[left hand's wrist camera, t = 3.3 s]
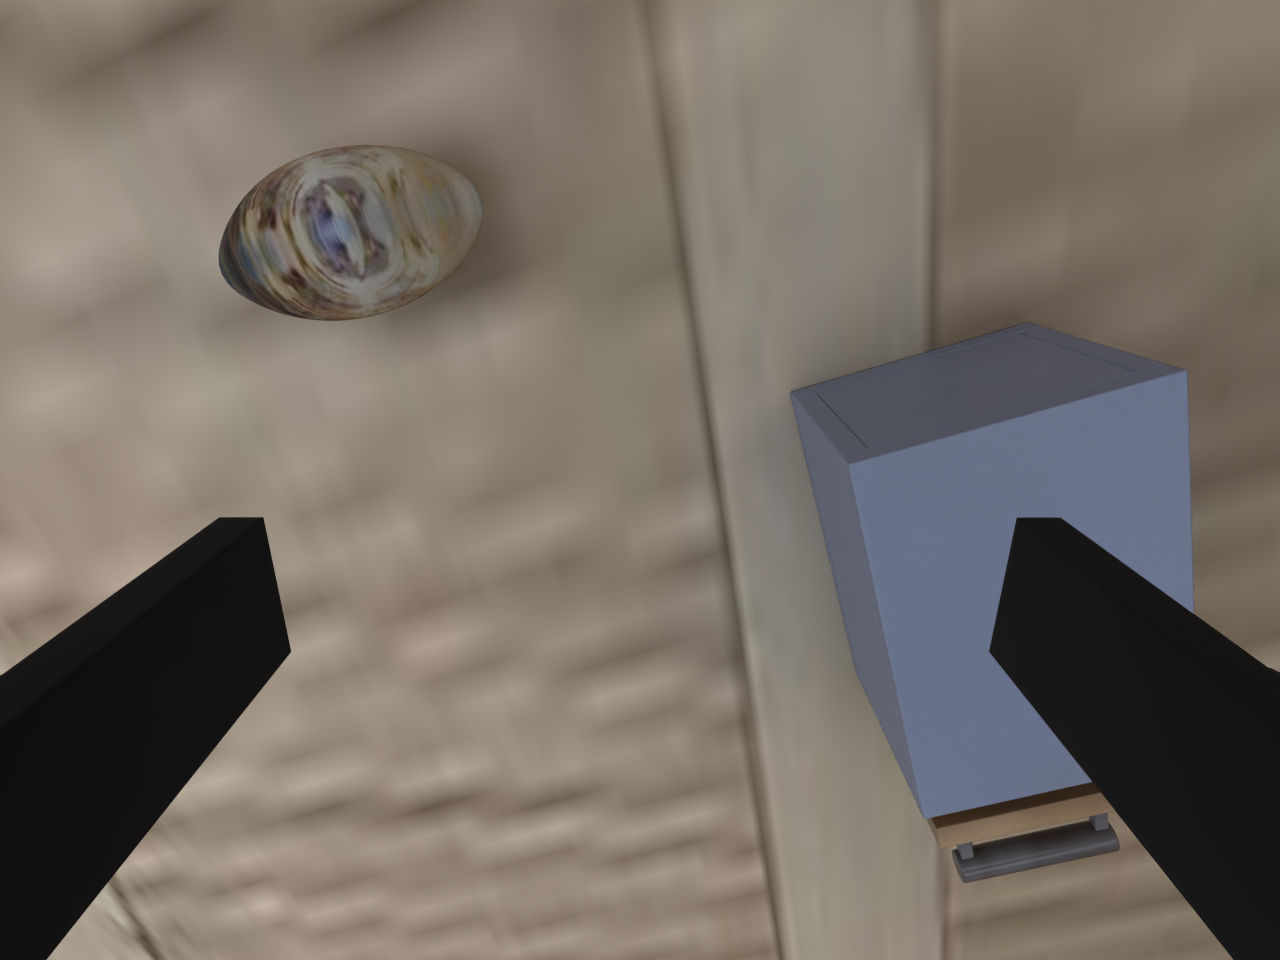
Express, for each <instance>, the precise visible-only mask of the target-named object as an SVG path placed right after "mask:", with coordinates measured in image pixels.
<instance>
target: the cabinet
mask: <svg viewBox="0 0 1280 960" xmlns="http://www.w3.org/2000/svg"><path fill="white" fill-rule="evenodd" d="M790 394H791V399H792V403H793V407H794V411H795V416H796V420H797V424H798V428H799V433H800V437H801V441H802V445H803V450H804V454H805V458H806V462H807V466H808V471H809V475H810V479H811V483H812V488H813V492H814V496H815V500H816V505H817V509H818V513H819V517H820V522H821V526H822V530H823V534H824V539H825V543H826V547H827V551H828V556H829V560H830V564H831V568H832V572H833V577H834V581H835V585H836V589H837V594H838V598H839V602H840V606H841V611H842V615H843V619H844V623H845V628H846V632H847V636H848V640H849V645H850V649H851V653H852V657H853V661H854V666H855V670H856V673H857V676H858V678H859V680H860V682H861V684H862V686H863V688H864V690H865V693H866V695H867V697H868V699H869V701H870V703H871V706H872V708H873V710H874V712H875V714H876V716H877V719H878V721H879V723H880V725H881V727H882V729H883V732H884V734H885V736H886V738H887V740H888V742H889V745H890V747H891V749H892V751H893V753H894V755H895V758H896V760H897V762H898V764H899V766H900V768H901V770H902V773H903V775H904V777H905V779H906V781H907V783H908V786H909V788H910V790H911V792H912V794H913V796H914V799H915V800H916V803H917V805H918V807H919V810H920V812H921V814H922V816H923V818H924V819H928V818H932V817H937V816H941V815H946V814H950V813H955V812H959V811H964V810H968V809H973V808H977V807H982V806H986V805H991V804H995V803H1000V802H1004V801H1009V800H1013V799H1018V798H1022V797H1027V796H1031V795H1036V794H1040V793H1045V792H1049V791H1054V790H1058V789H1063V788H1067V787H1072V786H1076V785H1081V784H1085V783H1090V782H1092V781H1091V780H1090V778H1089V777H1088V776H1087V775H1086V773H1085V772H1084V771H1083V770H1082V768H1081V767H1080V766H1079V764H1078V763H1077V762H1076V761H1075V759H1074V758H1073V757H1072V756H1071V754H1070V753H1069V752H1068V751H1067V749H1066V748H1065V747H1064V746H1063V744H1062V743H1061V742H1060V741H1059V739H1058V738H1057V737H1056V736H1055V734H1054V733H1053V732H1052V731H1051V729H1050V728H1049V727H1048V725H1047V724H1046V723H1045V722H1044V720H1043V719H1042V718H1041V717H1040V715H1039V714H1038V713H1037V712H1036V710H1035V709H1034V708H1033V707H1032V705H1031V704H1030V703H1029V702H1028V700H1027V699H1026V698H1025V697H1024V695H1023V694H1022V693H1021V692H1020V690H1019V689H1018V688H1017V686H1016V685H1015V684H1014V683H1013V681H1012V680H1011V679H1010V678H1009V676H1008V675H1007V674H1006V673H1005V671H1004V670H1003V669H1002V668H1001V666H1000V665H999V664H998V663H997V661H996V660H995V659H994V658H993V656H992V655H991V654H990V653H989V649H990V644H991V639H992V634H993V629H994V625H995V620H996V615H997V610H998V605H999V600H1000V596H1001V591H1002V586H1003V581H1004V576H1005V571H1006V567H1007V562H1008V557H1009V552H1010V547H1011V542H1012V538H1013V533H1014V528H1015V523H1016V518H1017V517H1061V518H1062V519H1063V520H1065V521H1066V522H1068V523H1069V524H1070V525H1072V526H1073V527H1074V528H1076V529H1077V530H1079V531H1080V532H1081V533H1083V534H1084V535H1086V536H1087V537H1088V538H1090V539H1091V540H1092V541H1094V542H1095V543H1097V544H1098V545H1099V546H1101V547H1102V548H1103V549H1105V550H1106V551H1108V552H1109V553H1110V554H1112V555H1113V556H1115V557H1116V558H1117V559H1119V560H1120V561H1121V562H1123V563H1124V564H1126V565H1127V566H1128V567H1130V568H1131V569H1132V570H1134V571H1135V572H1137V573H1138V574H1139V575H1141V576H1142V577H1144V578H1145V579H1146V580H1148V581H1149V582H1150V583H1152V584H1153V585H1155V586H1156V587H1157V588H1159V589H1160V590H1161V591H1163V592H1164V593H1166V594H1167V595H1168V596H1170V597H1171V598H1173V599H1174V600H1175V601H1177V602H1178V603H1179V604H1181V605H1182V606H1184V607H1185V608H1186V609H1188V610H1189V611H1190V612H1192V613H1193V614H1194V590H1193V554H1192V517H1191V480H1190V443H1189V407H1188V372H1187V370H1185V369H1182V368H1178V367H1175V366H1172V365H1168V364H1167V365H1166V364H1165V363H1161V362H1158V361H1155V360H1151V359H1148V358H1145V357H1141V356H1138V355H1135V354H1131V353H1128V352H1125V351H1121V350H1118V349H1115V348H1111V347H1108V346H1105V345H1101V344H1098V343H1094V342H1091V341H1088V340H1084V339H1081V338H1078V337H1074V336H1071V335H1068V334H1064V333H1061V332H1058V331H1054V330H1051V329H1048V328H1044V327H1041V326H1039V325H1035V324H1032V323H1024V324H1021V325H1018V326H1014V327H1011V328H1007V329H1004V330H1001V331H997V332H994V333H990V334H987V335H984V336H980V337H977V338H973V339H970V340H966V341H963V342H960V343H956V344H953V345H949V346H946V347H943V348H939V349H936V350H932V351H929V352H926V353H922V354H919V355H915V356H912V357H908V358H905V359H902V360H898V361H895V362H891V363H888V364H885V365H881V366H878V367H874V368H871V369H868V370H864V371H861V372H857V373H854V374H850V375H847V376H844V377H840V378H837V379H833V380H830V381H827V382H823V383H820V384H816V385H813V386H810V387H806V388H803V389H799V390H796V391H792V392H790Z"/></svg>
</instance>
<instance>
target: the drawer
mask: <svg viewBox="0 0 1280 960" xmlns="http://www.w3.org/2000/svg"><path fill="white" fill-rule="evenodd" d="M1112 811H1115V810H1114V809H1113V807H1112V806H1111V805H1110V803H1109V802H1108V801H1107V800H1106V798H1105V797H1104V796H1103V795H1102V793H1101V792H1100V791H1099V790H1098V788H1097V787H1096V786H1095V785H1094V783H1093V782H1090V783H1085V784H1081V785H1076V786H1072V787H1067V788H1063V789H1058V790H1054V791H1049V792H1045V793H1040V794H1036V795H1031V796H1027V797H1022V798H1018V799H1013V800H1009V801H1004V802H1000V803H995V804H991V805H986V806H982V807H977V808H973V809H968V810H964V811H959V812H955V813H950V814H946V815H941V816H937V817H932V818H928V819H927V821H928V823H929V825H930V828H931V830H932V832H933V834H934V836H935V838H936V841H937V843H938V845H939V847H940V848H941V849H942V848H946V847H951V846H955V845H956V846H957V849H954V850H952V857H953V861H954V864H955V867H956V869H957V872H958V874H959V876H960V878H961V880H962V881H963V882H964V883H968V882H973V881H978V880H982V879H987V878H992V877H997V876H1001V875H1006V874H1011V873H1016V872H1020V871H1025V870H1030V869H1035V868H1039V867H1044V866H1049V865H1054V864H1058V863H1063V862H1068V861H1073V860H1077V859H1082V858H1087V857H1091V856H1096V855H1101V854H1106V853H1110V852H1115V851H1118V850H1119V849H1120V845H1119V841H1118V838H1117V835H1116V833H1115V831H1114V829H1113V828H1112V826H1111V825H1110V823H1109V822H1108V814H1107V812H1112ZM1084 817H1089V820H1088V821H1083V822H1078V823H1074V824H1069V825H1064V826H1060V827H1055V828H1051V829H1046V830H1041V831H1037V832H1032V833H1027V834H1023V835H1018V836H1014V837H1009V838H1004V839H1000V840H995V841H990V842H986V843H981V844H977V845H972V842H974V841H978V840H983V839H988V838H992V837H997V836H1001V835H1006V834H1011V833H1015V832H1020V831H1025V830H1029V829H1034V828H1038V827H1043V826H1048V825H1052V824H1057V823H1061V822H1066V821H1071V820H1075V819H1080V818H1084Z"/></svg>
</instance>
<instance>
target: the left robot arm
mask: <svg viewBox="0 0 1280 960" xmlns="http://www.w3.org/2000/svg"><path fill="white" fill-rule="evenodd" d="M290 653H291V649H290V644H289V639H288V634H287V629H286V625H285V620H284V615H283V610H282V605H281V600H280V596H279V591H278V586H277V581H276V576H275V571H274V567H273V562H272V557H271V552H270V547H269V542H268V538H267V533H266V528H265V523H264V518H263V517H219V518H218V519H217V520H215V521H214V522H212V523H211V524H210V525H208V526H207V527H206V528H204V529H203V530H201V531H200V532H199V533H197V534H196V535H194V536H193V537H192V538H190V539H189V540H188V541H186V542H185V543H183V544H182V545H181V546H179V547H178V548H177V549H175V550H174V551H172V552H171V553H170V554H168V555H167V556H165V557H164V558H163V559H161V560H160V561H159V562H157V563H156V564H154V565H153V566H152V567H150V568H149V569H148V570H146V571H145V572H143V573H142V574H141V575H139V576H138V577H136V578H135V579H134V580H132V581H131V582H130V583H128V584H127V585H125V586H124V587H123V588H121V589H120V590H119V591H117V592H116V593H114V594H113V595H112V596H110V597H109V598H107V599H106V600H105V601H103V602H102V603H101V604H99V605H98V606H96V607H95V608H94V609H92V610H91V611H90V612H88V613H87V614H85V615H84V616H83V617H81V618H80V619H78V620H77V621H76V622H74V623H73V624H72V625H70V626H69V627H67V628H66V629H65V630H63V631H62V632H61V633H59V634H58V635H56V636H55V637H54V638H52V639H51V640H49V641H48V642H47V643H45V644H44V645H43V646H41V647H40V648H38V649H37V650H36V651H34V652H33V653H32V654H30V655H29V656H27V657H26V658H25V659H23V660H22V661H20V662H19V663H18V664H16V665H15V666H14V667H12V668H11V669H9V670H8V671H7V672H5V673H4V674H2V675H0V960H46V959H47V958H48V957H49V956H50V954H51V953H52V952H53V951H54V949H55V948H56V947H57V946H58V944H59V943H60V942H61V941H62V939H63V938H64V937H65V936H66V934H67V933H68V932H69V931H70V929H71V928H72V927H73V926H74V924H75V923H76V922H77V920H78V919H79V918H80V917H81V915H82V914H83V913H84V912H85V910H86V909H87V908H88V907H89V905H90V904H91V903H92V902H93V900H94V899H95V898H96V897H97V895H98V894H99V893H100V892H101V890H102V889H103V888H104V887H105V885H106V884H107V883H108V881H109V880H110V879H111V878H112V876H113V875H114V874H115V873H116V871H117V870H118V869H119V868H120V866H121V865H122V864H123V863H124V861H125V860H126V859H127V858H128V856H129V855H130V854H131V853H132V851H133V850H134V849H135V848H136V846H137V845H138V844H139V842H140V841H141V840H142V839H143V837H144V836H145V835H146V834H147V832H148V831H149V830H150V829H151V827H152V826H153V825H154V824H155V822H156V821H157V820H158V819H159V817H160V816H161V815H162V814H163V812H164V811H165V810H166V809H167V807H168V806H169V805H170V803H171V802H172V801H173V800H174V798H175V797H176V796H177V795H178V793H179V792H180V791H181V790H182V788H183V787H184V786H185V785H186V783H187V782H188V781H189V780H190V778H191V777H192V776H193V775H194V773H195V772H196V771H197V770H198V768H199V767H200V766H201V764H202V763H203V762H204V761H205V759H206V758H207V757H208V756H209V754H210V753H211V752H212V751H213V749H214V748H215V747H216V746H217V744H218V743H219V742H220V741H221V739H222V738H223V737H224V736H225V734H226V733H227V732H228V731H229V729H230V728H231V727H232V725H233V724H234V723H235V722H236V720H237V719H238V718H239V717H240V715H241V714H242V713H243V712H244V710H245V709H246V708H247V707H248V705H249V704H250V703H251V702H252V700H253V699H254V698H255V697H256V695H257V694H258V693H259V692H260V690H261V689H262V688H263V686H264V685H265V684H266V683H267V681H268V680H269V679H270V678H271V676H272V675H273V674H274V673H275V671H276V670H277V669H278V668H279V666H280V665H281V664H282V663H283V661H284V660H285V659H286V658H287V656H288V655H289V654H290ZM989 653H990V654H991V655H992V656H993V658H994V659H995V660H996V661H997V663H998V664H999V665H1000V666H1001V668H1002V669H1003V670H1004V671H1005V673H1006V674H1007V675H1008V676H1009V678H1010V679H1011V680H1012V681H1013V683H1014V684H1015V685H1016V686H1017V688H1018V689H1019V690H1020V692H1021V693H1022V694H1023V695H1024V697H1025V698H1026V699H1027V700H1028V702H1029V703H1030V704H1031V705H1032V707H1033V708H1034V709H1035V710H1036V712H1037V713H1038V714H1039V715H1040V717H1041V718H1042V719H1043V720H1044V722H1045V723H1046V724H1047V725H1048V727H1049V728H1050V729H1051V731H1052V732H1053V733H1054V734H1055V736H1056V737H1057V738H1058V739H1059V741H1060V742H1061V743H1062V744H1063V746H1064V747H1065V748H1066V749H1067V751H1068V752H1069V753H1070V754H1071V756H1072V757H1073V758H1074V759H1075V761H1076V762H1077V763H1078V764H1079V766H1080V767H1081V768H1082V770H1083V771H1084V772H1085V773H1086V775H1087V776H1088V777H1089V778H1090V780H1091V781H1092V782H1093V783H1094V785H1095V786H1096V787H1097V788H1098V790H1099V791H1100V792H1101V793H1102V795H1103V796H1104V797H1105V798H1106V800H1107V801H1108V802H1109V803H1110V805H1111V806H1112V807H1113V809H1114V810H1115V811H1116V812H1117V814H1118V815H1119V816H1120V817H1121V819H1122V820H1123V821H1124V822H1125V824H1126V825H1127V826H1128V827H1129V829H1130V830H1131V831H1132V832H1133V834H1134V835H1135V836H1136V837H1137V839H1138V840H1139V841H1140V842H1141V844H1142V845H1143V846H1144V848H1145V849H1146V850H1147V851H1148V853H1149V854H1150V855H1151V856H1152V858H1153V859H1154V860H1155V861H1156V863H1157V864H1158V865H1159V866H1160V868H1161V869H1162V870H1163V871H1164V873H1165V874H1166V875H1167V876H1168V878H1169V879H1170V880H1171V881H1172V883H1173V884H1174V885H1175V887H1176V888H1177V889H1178V890H1179V892H1180V893H1181V894H1182V895H1183V897H1184V898H1185V899H1186V900H1187V902H1188V903H1189V904H1190V905H1191V907H1192V908H1193V909H1194V910H1195V912H1196V913H1197V914H1198V915H1199V917H1200V918H1201V919H1202V920H1203V922H1204V923H1205V924H1206V926H1207V927H1208V928H1209V929H1210V931H1211V932H1212V933H1213V934H1214V936H1215V937H1216V938H1217V939H1218V941H1219V942H1220V943H1221V944H1222V946H1223V947H1224V948H1225V949H1226V951H1227V952H1228V953H1229V954H1230V956H1231V957H1232V958H1233V959H1234V960H1280V672H1278V671H1276V670H1274V669H1272V668H1268V667H1266V666H1265V665H1264V664H1262V663H1261V662H1260V661H1258V660H1257V659H1255V658H1254V657H1253V656H1251V655H1250V654H1248V653H1247V652H1246V651H1244V650H1243V649H1242V648H1240V647H1239V646H1237V645H1236V644H1235V643H1233V642H1232V641H1231V640H1229V639H1228V638H1226V637H1225V636H1224V635H1222V634H1221V633H1219V632H1218V631H1217V630H1215V629H1214V628H1213V627H1211V626H1210V625H1208V624H1207V623H1206V622H1204V621H1203V620H1202V619H1200V618H1199V617H1197V616H1196V615H1195V614H1193V613H1192V612H1190V611H1189V610H1188V609H1186V608H1185V607H1184V606H1182V605H1181V604H1179V603H1178V602H1177V601H1175V600H1174V599H1173V598H1171V597H1170V596H1168V595H1167V594H1166V593H1164V592H1163V591H1161V590H1160V589H1159V588H1157V587H1156V586H1155V585H1153V584H1152V583H1150V582H1149V581H1148V580H1146V579H1145V578H1144V577H1142V576H1141V575H1139V574H1138V573H1137V572H1135V571H1134V570H1132V569H1131V568H1130V567H1128V566H1127V565H1126V564H1124V563H1123V562H1121V561H1120V560H1119V559H1117V558H1116V557H1115V556H1113V555H1112V554H1110V553H1109V552H1108V551H1106V550H1105V549H1103V548H1102V547H1101V546H1099V545H1098V544H1097V543H1095V542H1094V541H1092V540H1091V539H1090V538H1088V537H1087V536H1086V535H1084V534H1083V533H1081V532H1080V531H1079V530H1077V529H1076V528H1074V527H1073V526H1072V525H1070V524H1069V523H1068V522H1066V521H1065V520H1063V519H1062V518H1061V517H1017V518H1016V523H1015V528H1014V533H1013V538H1012V542H1011V547H1010V552H1009V557H1008V562H1007V567H1006V571H1005V576H1004V581H1003V586H1002V591H1001V596H1000V600H999V605H998V610H997V615H996V620H995V625H994V629H993V634H992V639H991V644H990V649H989Z"/></svg>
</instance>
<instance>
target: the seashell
mask: <svg viewBox="0 0 1280 960" xmlns="http://www.w3.org/2000/svg"><path fill="white" fill-rule="evenodd" d="M481 222H482V204H481V199H480V197H479V195H478V193H477V191H476V189H475V187H474V186H473V185H472V183H471V182H470V181H469V180H468V179H467V178H466V177H465V176H464V175H462V174H461V173H460V172H459V171H457V170H456V169H454V168H453V167H451V166H450V165H448V164H446V163H444V162H442V161H440V160H438V159H436V158H433V157H431V156H428V155H425V154H422V153H419V152H416V151H411V150H407V149H403V148H396V147H388V146H376V145H358V146H345V147H337V148H332V149H327V150H322V151H318V152H315V153H311V154H308V155H306V156H303V157H300V158H298V159H296V160H293V161H291V162H289V163H287V164H285V165H283V166H281V167H280V168H278V169H277V170H275V171H273V172H272V173H270V174H269V175H268V176H266V177H265V178H264V179H262V180H261V181H260V182H259V183H258V184H257V185H256V186H255V187H253V188H252V189H251V190H250V191H249V193H248V194H247V195H246V196H245V197H244V198H243V200H242V201H241V202H240V204H239V205H238V206H237V208H236V210H235V211H234V213H233V214H232V216H231V218H230V220H229V222H228V224H227V226H226V229H225V231H224V234H223V237H222V240H221V244H220V249H219V266H220V269H221V272H222V275H223V277H224V278H225V280H226V281H227V283H228V284H229V285H230V286H231V287H232V288H233V289H234V290H235V291H237V292H238V293H239V294H241V295H242V296H244V297H245V298H247V299H249V300H250V301H252V302H254V303H256V304H258V305H260V306H262V307H265V308H268V309H270V310H273V311H276V312H279V313H282V314H286V315H289V316H293V317H298V318H304V319H312V320H325V321H338V320H352V319H359V318H365V317H369V316H374V315H378V314H381V313H385V312H388V311H391V310H393V309H396V308H399V307H401V306H403V305H406V304H408V303H410V302H412V301H414V300H416V299H417V298H419V297H421V296H423V295H424V294H426V293H427V292H429V291H431V290H432V289H433V288H435V287H436V286H437V285H439V284H440V283H441V282H442V281H444V280H445V279H446V278H447V277H448V276H449V275H450V274H451V273H452V272H453V271H454V270H455V269H456V268H457V267H458V266H459V265H460V264H461V262H462V261H463V260H464V258H465V257H466V256H467V254H468V253H469V251H470V250H471V248H472V246H473V244H474V242H475V240H476V238H477V236H478V233H479V230H480V227H481Z"/></svg>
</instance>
